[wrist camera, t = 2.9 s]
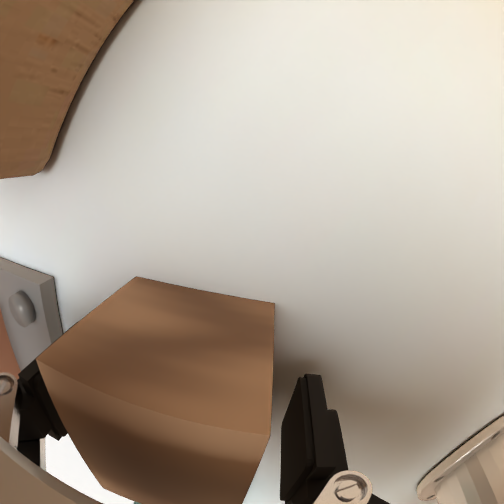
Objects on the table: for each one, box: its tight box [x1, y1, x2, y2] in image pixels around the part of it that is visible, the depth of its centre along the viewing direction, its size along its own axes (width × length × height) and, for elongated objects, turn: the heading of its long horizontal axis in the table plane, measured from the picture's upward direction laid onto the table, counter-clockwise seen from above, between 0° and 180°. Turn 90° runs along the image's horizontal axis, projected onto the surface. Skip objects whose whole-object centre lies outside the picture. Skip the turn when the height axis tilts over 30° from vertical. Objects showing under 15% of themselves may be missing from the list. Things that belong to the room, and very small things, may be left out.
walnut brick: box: [36, 276, 275, 504], centre depth 8 cm, size 5×7×6 cm
